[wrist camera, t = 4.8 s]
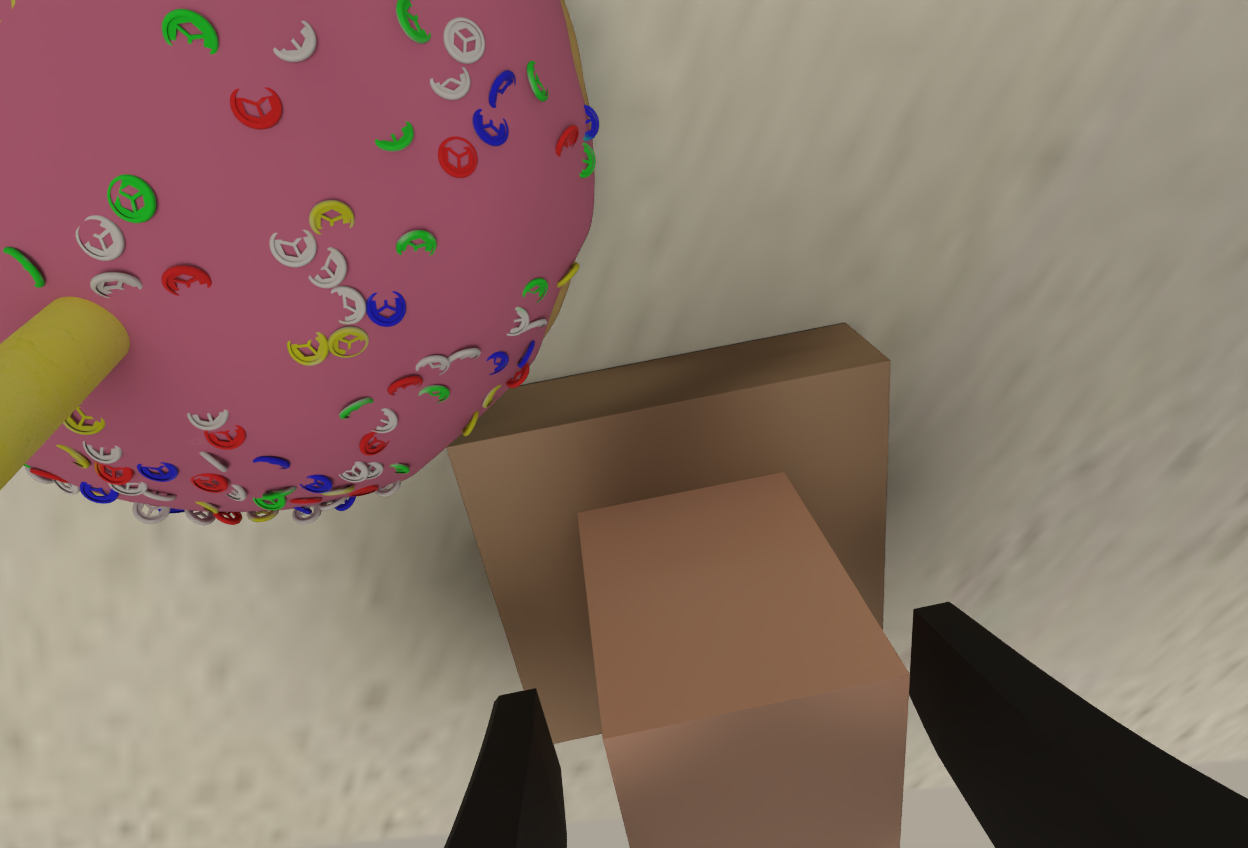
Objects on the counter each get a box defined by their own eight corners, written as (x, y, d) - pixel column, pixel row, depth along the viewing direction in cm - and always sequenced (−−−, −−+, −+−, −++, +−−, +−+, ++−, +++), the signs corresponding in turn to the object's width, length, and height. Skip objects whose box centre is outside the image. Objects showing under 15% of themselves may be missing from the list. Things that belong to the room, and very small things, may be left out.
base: (845, 323, 14) (890, 360, 13) (847, 614, 18) (881, 674, 16) (455, 398, 14) (446, 447, 12) (540, 678, 18) (541, 746, 16)
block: (792, 625, 15) (899, 855, 11) (610, 663, 15) (645, 911, 11) (783, 471, 13) (909, 674, 9) (577, 512, 13) (603, 739, 9)
